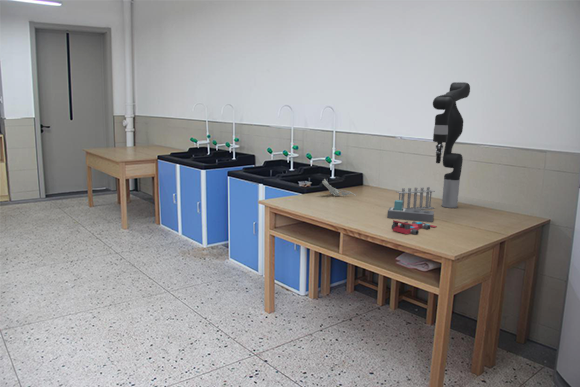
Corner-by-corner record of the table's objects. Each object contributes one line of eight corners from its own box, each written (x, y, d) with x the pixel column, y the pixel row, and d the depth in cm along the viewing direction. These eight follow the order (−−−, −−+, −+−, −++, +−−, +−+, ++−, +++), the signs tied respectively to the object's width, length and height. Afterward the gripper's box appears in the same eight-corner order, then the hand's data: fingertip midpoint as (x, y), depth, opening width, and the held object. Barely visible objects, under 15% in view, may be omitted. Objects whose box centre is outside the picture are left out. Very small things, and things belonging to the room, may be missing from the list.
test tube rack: (398, 211, 283) (400, 189, 281) (394, 209, 287) (396, 188, 285) (433, 208, 292) (435, 187, 290) (429, 207, 296) (430, 186, 294)
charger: (394, 213, 271) (395, 200, 270) (402, 214, 270) (403, 200, 268) (393, 215, 267) (394, 201, 266) (401, 216, 266) (402, 201, 265)
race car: (441, 217, 245) (412, 224, 229) (440, 229, 246) (411, 237, 230) (418, 212, 255) (388, 219, 239) (417, 223, 256) (387, 230, 240)
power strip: (389, 214, 275) (390, 206, 274) (433, 218, 267) (433, 210, 267) (387, 217, 266) (387, 210, 265) (432, 222, 258) (433, 214, 257)
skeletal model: (357, 196, 327) (338, 173, 313) (349, 207, 325) (330, 184, 311) (341, 192, 340) (322, 169, 326) (334, 202, 337) (314, 180, 323)
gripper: (447, 134, 260) (444, 164, 263) (447, 133, 273) (445, 161, 276) (432, 133, 262) (430, 163, 265) (434, 132, 275) (431, 160, 278)
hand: (438, 162), depth 270 cm, fingers open, 8 cm apart
